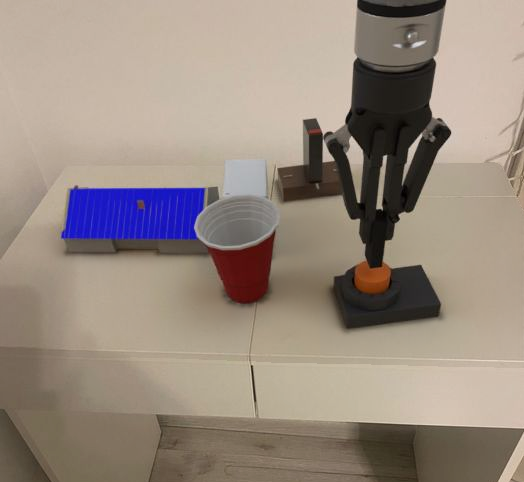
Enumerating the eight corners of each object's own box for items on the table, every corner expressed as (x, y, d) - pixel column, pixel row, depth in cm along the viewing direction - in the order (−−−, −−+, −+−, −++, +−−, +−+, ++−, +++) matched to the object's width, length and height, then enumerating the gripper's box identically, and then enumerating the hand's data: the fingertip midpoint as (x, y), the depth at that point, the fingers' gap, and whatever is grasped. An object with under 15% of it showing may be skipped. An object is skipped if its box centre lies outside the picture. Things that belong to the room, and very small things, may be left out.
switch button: (383, 270, 72) (385, 257, 71) (393, 292, 69) (395, 279, 68) (350, 274, 72) (351, 262, 70) (358, 296, 69) (359, 284, 67)
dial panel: (338, 168, 97) (338, 154, 95) (351, 198, 90) (352, 183, 88) (276, 176, 97) (275, 162, 95) (284, 206, 90) (284, 192, 88)
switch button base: (419, 276, 76) (423, 253, 73) (438, 316, 71) (444, 293, 68) (333, 288, 76) (334, 265, 73) (346, 329, 70) (348, 306, 67)
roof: (67, 255, 85) (50, 214, 80) (94, 204, 94) (81, 164, 89) (207, 256, 82) (199, 214, 77) (221, 204, 92) (215, 163, 86)
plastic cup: (194, 282, 79) (179, 209, 70) (262, 256, 82) (255, 184, 73) (226, 328, 72) (214, 254, 63) (298, 299, 75) (296, 224, 66)
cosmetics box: (271, 257, 81) (267, 195, 73) (228, 260, 82) (219, 198, 74) (270, 217, 88) (266, 155, 81) (230, 219, 89) (222, 158, 81)
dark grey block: (303, 165, 93) (302, 118, 87) (316, 164, 93) (316, 116, 87) (309, 182, 90) (308, 134, 84) (322, 181, 90) (323, 132, 84)
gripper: (333, 81, 48) (327, 287, 65) (480, 64, 48) (435, 273, 66) (317, 50, 53) (315, 249, 70) (449, 35, 53) (415, 236, 71)
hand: (373, 260), depth 68 cm, fingers closed
